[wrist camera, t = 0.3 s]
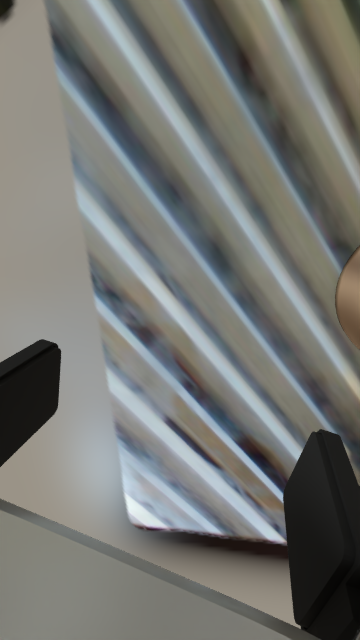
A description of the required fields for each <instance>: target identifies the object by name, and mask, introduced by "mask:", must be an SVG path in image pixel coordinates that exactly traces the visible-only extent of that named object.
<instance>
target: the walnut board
mask: <svg viewBox="0 0 360 640" xmlns="http://www.w3.org/2000/svg"><path fill="white" fill-rule="evenodd" d="M335 306H336V312H337V316H338V319H339V322H340V324H341V326H342V328H343V330H344V332H345V333H346V334H347V336H348V337H349V339H350V340H351V341H352V342H353V343H354V344H355V345H356V347H357V348H358V349H360V246H359V247H358V248H357V249H356V250H355V251H354V253H353V254H352V255H351V257H350V258H349V259H348V261H347V263H346V264H345V266H344V268H343V270H342V272H341V274H340V277H339V280H338V283H337V287H336V294H335Z"/></svg>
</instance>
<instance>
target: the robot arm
mask: <svg viewBox="0 0 360 640" xmlns="http://www.w3.org/2000/svg"><path fill="white" fill-rule="evenodd" d="M60 363H61V350H60V349H59V348H58V345H57V344H56V343H53V342H50V341H46V340H43V339H42V340H39V341H37V342H35V343H34V344H32V345H30V346H28V347H27V348H25V349H23V350H21V351H20V352H18V353H16V354H14V355H13V356H11V357H9V358H7V359H6V360H4V361H2V362H1V363H0V467H1V466H2V465H3V464H4V463H5V462H6V461H7V460H8V459H9V458H10V457H11V456H12V455H13V454H14V453H15V452H16V451H17V450H18V449H19V448H20V447H21V446H22V445H23V444H24V443H25V442H26V441H27V440H28V439H29V438H30V437H31V436H32V435H33V434H34V433H36V432H37V431H38V429H40V428H41V427H42V426H43V425H44V424H45V423H46V422H47V421H48V420H49V419H50V418H51V417H52V416H53V415H54V413H55V412H56V410H57V408H58V397H59V380H60ZM283 501H284V512H285V523H286V534H287V545H288V556H289V568H290V578H291V590H292V600H293V612H294V619H295V622H296V624H298V625H300V626H301V629H299V628H297V627H295V626H293V625H290V624H288V623H286V622H284V621H282V620H279V619H277V618H275V617H273V616H271V615H269V614H266V613H264V612H262V611H260V610H258V609H255V608H253V607H251V606H249V605H247V604H244V603H242V602H240V601H238V600H236V599H233V598H231V597H229V596H226V595H224V594H222V593H219V592H217V591H215V590H213V589H210V588H208V587H205V586H203V585H201V584H199V583H196V582H194V581H192V580H190V579H187V578H185V577H183V576H180V575H178V574H176V573H173V572H171V571H169V570H166V569H164V568H161V567H160V566H157V565H155V564H153V563H150V562H148V561H146V560H143V559H141V558H139V557H136V556H134V555H131V554H129V553H127V552H125V551H122V550H120V549H118V548H115V547H113V546H111V545H108V544H106V543H103V542H101V541H99V540H97V539H94V538H92V537H89V536H87V535H84V534H83V533H80V532H78V531H75V530H73V529H71V528H69V527H66V526H64V525H62V524H59V523H57V522H55V521H52V520H50V519H47V518H45V517H43V516H40V515H38V514H36V513H33V512H31V511H28V510H26V509H24V508H21V507H19V506H16V505H14V504H12V503H9V502H7V501H4V500H2V499H0V640H360V486H359V485H358V482H357V480H356V477H355V474H354V472H353V469H352V466H351V464H350V461H349V458H348V456H347V453H346V450H345V448H344V445H343V442H342V440H341V437H340V436H339V435H337V434H334V433H331V432H328V431H325V430H322V429H320V430H319V431H318V432H312V433H311V435H310V437H309V439H308V441H307V443H306V445H305V447H304V449H303V451H302V453H301V455H300V457H299V459H298V462H297V464H296V466H295V468H294V470H293V472H292V474H291V476H290V478H289V480H288V482H287V484H286V486H285V489H284V494H283Z"/></svg>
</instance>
